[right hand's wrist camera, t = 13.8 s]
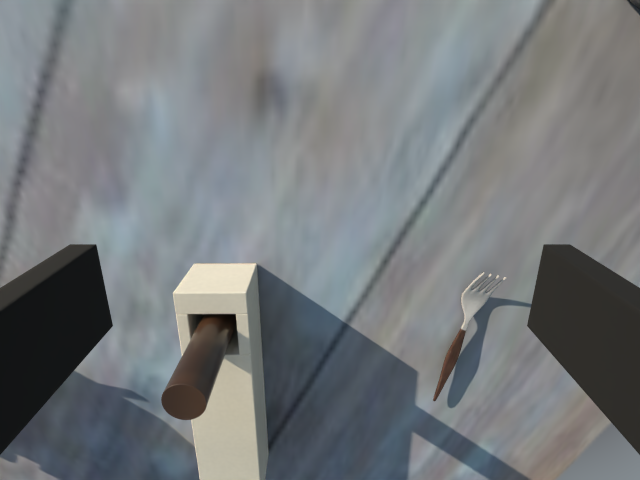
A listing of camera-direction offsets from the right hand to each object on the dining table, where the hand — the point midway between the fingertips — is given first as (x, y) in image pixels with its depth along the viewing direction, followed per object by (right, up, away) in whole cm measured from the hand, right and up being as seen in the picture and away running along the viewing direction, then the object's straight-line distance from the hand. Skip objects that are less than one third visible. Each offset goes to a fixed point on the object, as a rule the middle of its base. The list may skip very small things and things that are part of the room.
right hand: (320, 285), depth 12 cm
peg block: (-9, -12, +31) cm, 34 cm away
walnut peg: (-9, -5, +28) cm, 30 cm away
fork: (+14, -8, +29) cm, 34 cm away
